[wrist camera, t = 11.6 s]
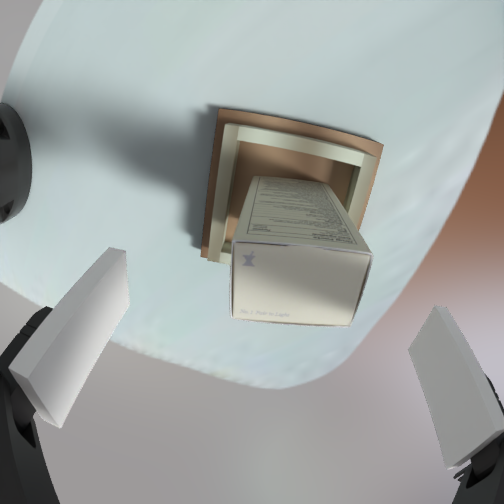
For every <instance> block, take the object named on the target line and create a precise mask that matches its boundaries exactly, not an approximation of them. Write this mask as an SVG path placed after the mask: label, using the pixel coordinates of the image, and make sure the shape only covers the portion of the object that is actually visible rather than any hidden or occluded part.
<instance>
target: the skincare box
mask: <svg viewBox="0 0 504 504" xmlns="http://www.w3.org/2000/svg"><path fill="white" fill-rule="evenodd" d="M372 261H373V254H372V252H371V251H370V249H369V247H368V246H367V244H366V242H365V241H364V239H363V237H362V236H361V234H360V233H359V231H358V229H357V228H356V226H355V225H354V223H353V221H352V220H351V218H350V217H349V215H348V214H347V212H346V210H345V209H344V207H343V206H342V204H341V203H340V201H339V200H338V198H337V197H336V195H335V194H334V192H333V191H332V189H331V188H330V186H329V185H328V184H325V183H319V182H312V181H305V180H297V179H288V178H279V177H267V176H253V178H252V181H251V184H250V187H249V190H248V193H247V196H246V199H245V202H244V205H243V208H242V211H241V214H240V217H239V220H238V224H237V227H236V230H235V233H234V236H233V239H232V247H231V264H230V291H229V292H230V317H231V318H232V319H236V320H243V321H251V322H261V323H272V324H283V325H297V326H314V327H341V328H348V327H350V326H351V325H352V322H353V320H354V317H355V314H356V312H357V309H358V306H359V303H360V300H361V297H362V294H363V291H364V288H365V285H366V282H367V279H368V275H369V272H370V268H371V265H372Z"/></svg>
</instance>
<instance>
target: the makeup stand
mask: <svg viewBox="0 0 504 504" xmlns="http://www.w3.org/2000/svg"><path fill="white" fill-rule="evenodd" d="M383 146H384V145H383V144H381V143H378V142H375V141H372V140H369V139H365V138H362V137H358V136H355V135H351V134H348V133H344V132H340V131H336V130H333V129H329V128H325V127H320V126H316V125H312V124H308V123H303V122H298V121H294V120H289V119H284V118H279V117H273V116H268V115H262V114H256V113H250V112H244V111H237V110H230V109H219V111H218V118H217V124H216V131H215V138H214V145H213V152H212V159H211V167H210V175H209V183H208V191H207V199H206V208H205V217H204V227H203V236H202V246H201V257H204V258H208V259H207V260H208V261H213V262H218V263H223V264H228V265H230V264H231V247H232V239H233V236H234V233H235V230H236V227H237V224H238V220H239V217H240V214H241V211H242V208H243V205H244V202H245V199H246V196H247V193H248V190H249V187H250V184H251V181H252V178H253V176H267V177H279V178H288V179H297V180H305V181H312V182H319V183H325V184H328V185H329V186H330V188H331V189H332V191H333V192H334V194H335V195H336V197H337V198H338V200H339V201H340V203H341V204H342V206H343V207H344V209H345V210H346V212H347V214H348V215H349V217H350V218H351V220H352V221H353V223H354V225H355V226H356V228H357V229H358V231H359V229H360V226H361V223H362V220H363V216H364V213H365V210H366V207H367V204H368V200H369V197H370V194H371V190H372V187H373V183H374V180H375V176H376V172H377V169H378V165H379V161H380V158H381V154H382V150H383Z"/></svg>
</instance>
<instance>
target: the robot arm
mask: <svg viewBox="0 0 504 504" xmlns="http://www.w3.org/2000/svg"><path fill="white" fill-rule="evenodd" d="M31 178H32V160H31V151H30V145H29V140H28V137H27V133H26V130H25V128H24V125H23V123H22V121H21V119H20V117H19V116H18V114H17V113H16V112H15V111H14V110H13V109H12V108H11V107H10V106H8V105H6V104H3V103H0V224H2V223H4V222H6V221H8V220H9V219H11V218H13V217H14V216H16V215H17V214H18V213H19V212H20V211H21V210H22V209H23V207H24V205H25V203H26V201H27V199H28V195H29V192H30V187H31ZM129 306H130V301H129V290H128V278H127V264H126V251H124V250H120V249H115V248H110V247H109V248H108V249H107V250H106V251H105V252H104V253H103V254H102V255H101V256H100V257H99V258H98V260H97V261H96V262H95V263H94V264H93V265H92V266H91V267H90V268H89V269H88V270H87V271H86V272H85V273H84V275H83V276H82V277H81V278H80V279H79V280H78V281H77V282H76V283H75V284H74V286H73V287H72V288H71V289H70V290H69V291H68V292H67V294H66V295H65V296H64V297H63V298H62V299H61V300H60V302H59V303H58V304H57V305H56V306H55V308H54V309H53V308H50V307H47V306H46V307H44V308H42V309H41V310H39V311H38V312H36V313H35V314H34V315H33V316H32V317H31V318H30V319H29V321H28V322H27V323H26V326H24V327H23V328H22V329H21V330H20V333H19V334H17V335H16V336H15V338H14V339H13V340H12V342H11V343H10V344H9V345H8V347H7V348H6V349H5V351H4V352H3V353H2V355H1V356H0V504H60V502H59V500H58V497H57V495H56V492H55V490H54V487H53V484H52V481H51V478H50V475H49V472H48V469H47V466H46V463H45V459H44V456H43V452H42V449H41V445H40V441H39V437H38V433H37V429H36V424H35V421H34V419H33V415H34V413H35V412H36V411H37V413H38V414H39V415H40V417H41V418H42V419H43V420H45V421H47V422H48V423H50V424H53V425H54V426H57V427H58V428H61V427H62V425H63V423H64V421H65V419H66V417H67V415H68V413H69V411H70V409H71V407H72V405H73V403H74V401H75V399H76V397H77V396H78V394H79V392H80V390H81V388H82V386H83V384H84V383H85V381H86V379H87V377H88V375H89V373H90V372H91V370H92V368H93V366H94V364H95V363H96V361H97V359H98V357H99V356H100V354H101V352H102V350H103V349H104V347H105V345H106V344H107V342H108V340H109V338H110V337H111V335H112V333H113V332H114V330H115V328H116V327H117V325H118V323H119V322H120V320H121V318H122V317H123V315H124V314H125V312H126V310H127V309H128V307H129ZM408 351H409V354H410V356H411V359H412V362H413V364H414V367H415V369H416V372H417V375H418V378H419V380H420V383H421V386H422V389H423V392H424V395H425V398H426V401H427V404H428V407H429V410H430V413H431V417H432V420H433V423H434V426H435V430H436V433H437V437H438V440H439V444H440V447H441V451H442V455H443V459H444V463H445V467H446V470H447V469H451V468H455V467H458V466H461V465H462V464H463V463H465V462H466V461H468V460H469V459H471V464H469V465H468V466H467V467H465V468H464V469H462V470H461V471H459V472H458V473H457V474H455V476H454V479H456V478H457V477H459V476H460V475H462V474H463V473H464V475H463V476H462V477H460V478H459V479H458V481H460V482H461V483H460V486H459V488H458V491H457V493H456V495H455V498H454V500H453V502H452V504H504V409H503V406H502V404H501V402H500V401H499V397H498V395H497V393H495V389H494V387H493V384H492V382H491V381H490V379H489V378H488V377H487V376H486V375H485V374H484V372H483V370H482V368H481V366H480V364H479V363H478V361H477V359H476V357H475V355H474V353H473V351H472V349H471V348H470V346H469V344H468V342H467V340H466V339H465V337H464V335H463V333H462V332H461V330H460V329H459V327H458V325H457V323H456V322H455V320H454V318H453V317H452V315H451V313H450V312H449V310H448V309H447V307H441V306H434V308H433V310H432V311H431V313H430V315H429V317H428V318H427V320H426V322H425V323H424V325H423V327H422V328H421V330H420V332H419V333H418V335H417V336H416V338H415V340H414V341H413V343H412V344H411V346H410V348H409V349H408Z"/></svg>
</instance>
